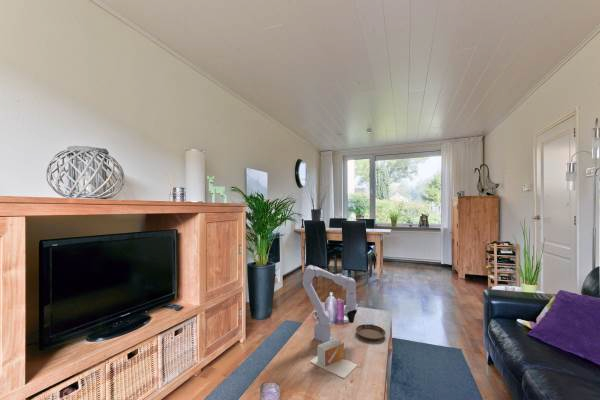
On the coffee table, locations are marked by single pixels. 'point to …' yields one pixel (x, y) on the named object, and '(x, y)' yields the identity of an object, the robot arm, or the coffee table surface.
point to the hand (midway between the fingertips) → (351, 322)
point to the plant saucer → (370, 332)
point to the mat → (337, 367)
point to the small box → (330, 352)
